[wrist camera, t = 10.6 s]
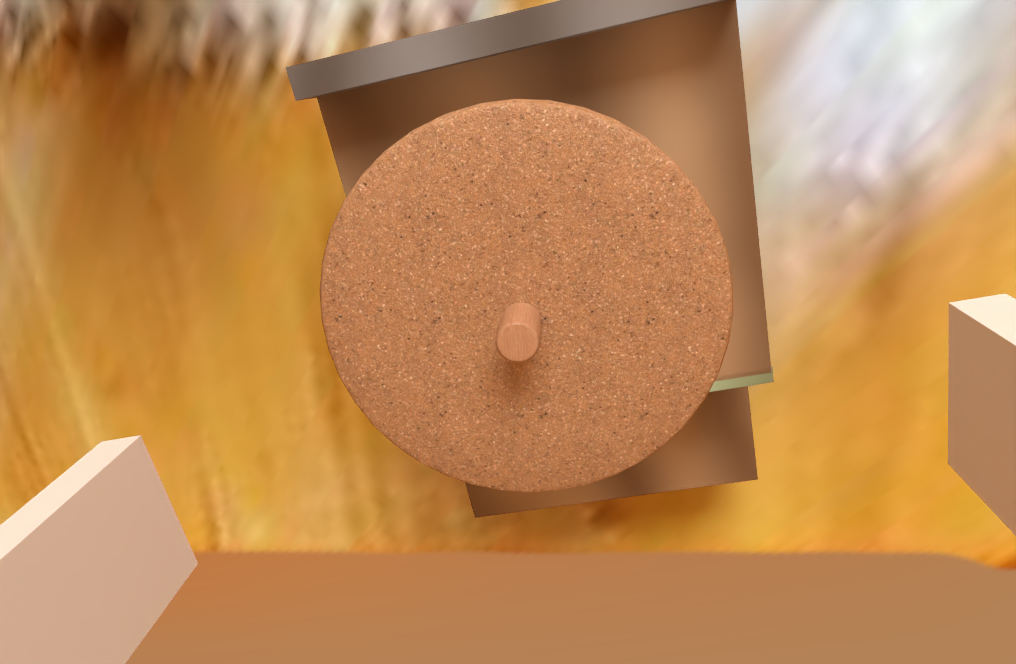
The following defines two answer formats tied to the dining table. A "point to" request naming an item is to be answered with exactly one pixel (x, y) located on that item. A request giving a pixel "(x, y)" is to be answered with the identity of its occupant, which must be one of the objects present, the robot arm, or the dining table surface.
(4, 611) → the robot arm
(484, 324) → the lidded jar
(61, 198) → the dining table surface
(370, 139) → the stepped stand
